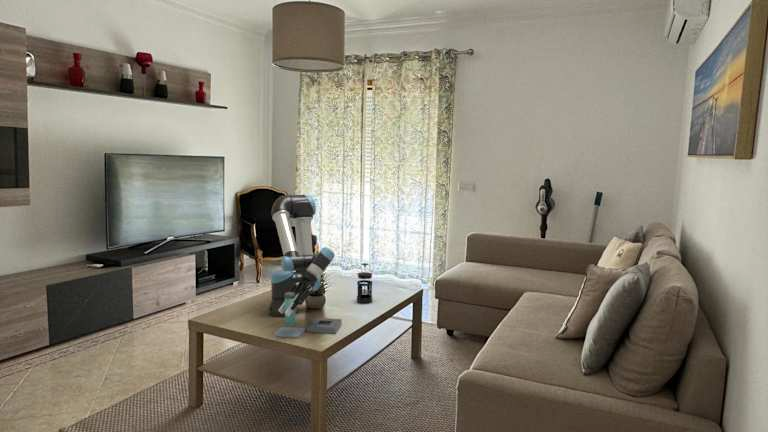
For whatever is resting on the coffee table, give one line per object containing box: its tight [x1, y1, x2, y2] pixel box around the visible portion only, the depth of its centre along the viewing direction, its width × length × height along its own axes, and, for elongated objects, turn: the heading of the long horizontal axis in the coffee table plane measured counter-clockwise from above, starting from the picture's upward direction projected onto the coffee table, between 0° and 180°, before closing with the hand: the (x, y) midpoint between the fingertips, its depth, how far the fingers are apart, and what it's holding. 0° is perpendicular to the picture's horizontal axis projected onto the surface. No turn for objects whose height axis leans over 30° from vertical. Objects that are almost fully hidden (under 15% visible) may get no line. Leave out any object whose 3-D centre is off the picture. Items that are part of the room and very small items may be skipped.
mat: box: [273, 326, 306, 339], centre depth 259 cm, size 12×12×1 cm
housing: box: [306, 317, 343, 335], centre depth 266 cm, size 14×14×3 cm
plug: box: [284, 292, 296, 326], centre depth 256 cm, size 5×5×15 cm
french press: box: [356, 262, 373, 305], centre depth 314 cm, size 12×9×23 cm
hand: (283, 313), depth 254 cm, fingers closed on plug, 5 cm apart
